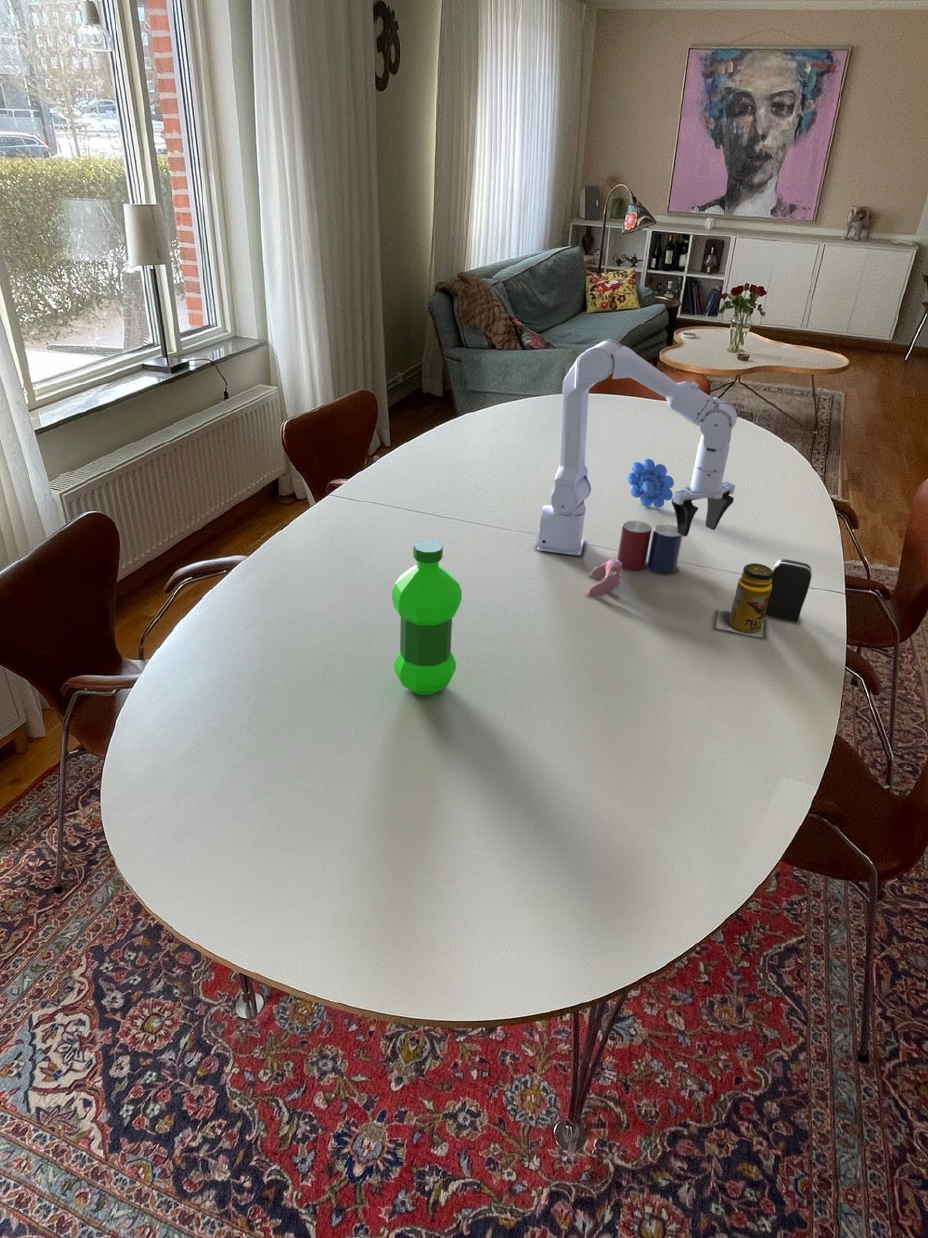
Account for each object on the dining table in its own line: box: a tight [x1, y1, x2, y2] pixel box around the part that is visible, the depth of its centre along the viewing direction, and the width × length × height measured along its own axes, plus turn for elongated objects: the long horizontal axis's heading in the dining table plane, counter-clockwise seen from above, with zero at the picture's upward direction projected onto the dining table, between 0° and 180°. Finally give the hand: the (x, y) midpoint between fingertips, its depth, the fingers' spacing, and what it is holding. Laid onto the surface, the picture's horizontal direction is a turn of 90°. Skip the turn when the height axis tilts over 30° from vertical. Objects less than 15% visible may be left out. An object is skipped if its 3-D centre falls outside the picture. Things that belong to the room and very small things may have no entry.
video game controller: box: [588, 557, 623, 598], centre depth 166 cm, size 10×5×7 cm, turn 168°
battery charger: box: [765, 558, 813, 623], centre depth 158 cm, size 7×4×11 cm, turn 68°
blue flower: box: [626, 458, 675, 509], centre depth 202 cm, size 12×7×12 cm, turn 68°
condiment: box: [715, 562, 773, 638], centre depth 154 cm, size 7×8×12 cm
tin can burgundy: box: [616, 520, 652, 571], centre depth 175 cm, size 6×6×9 cm
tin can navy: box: [646, 524, 683, 575], centre depth 174 cm, size 6×6×9 cm
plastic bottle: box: [391, 539, 463, 696], centre depth 129 cm, size 10×10×25 cm
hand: (696, 531), depth 168 cm, fingers open, 7 cm apart
